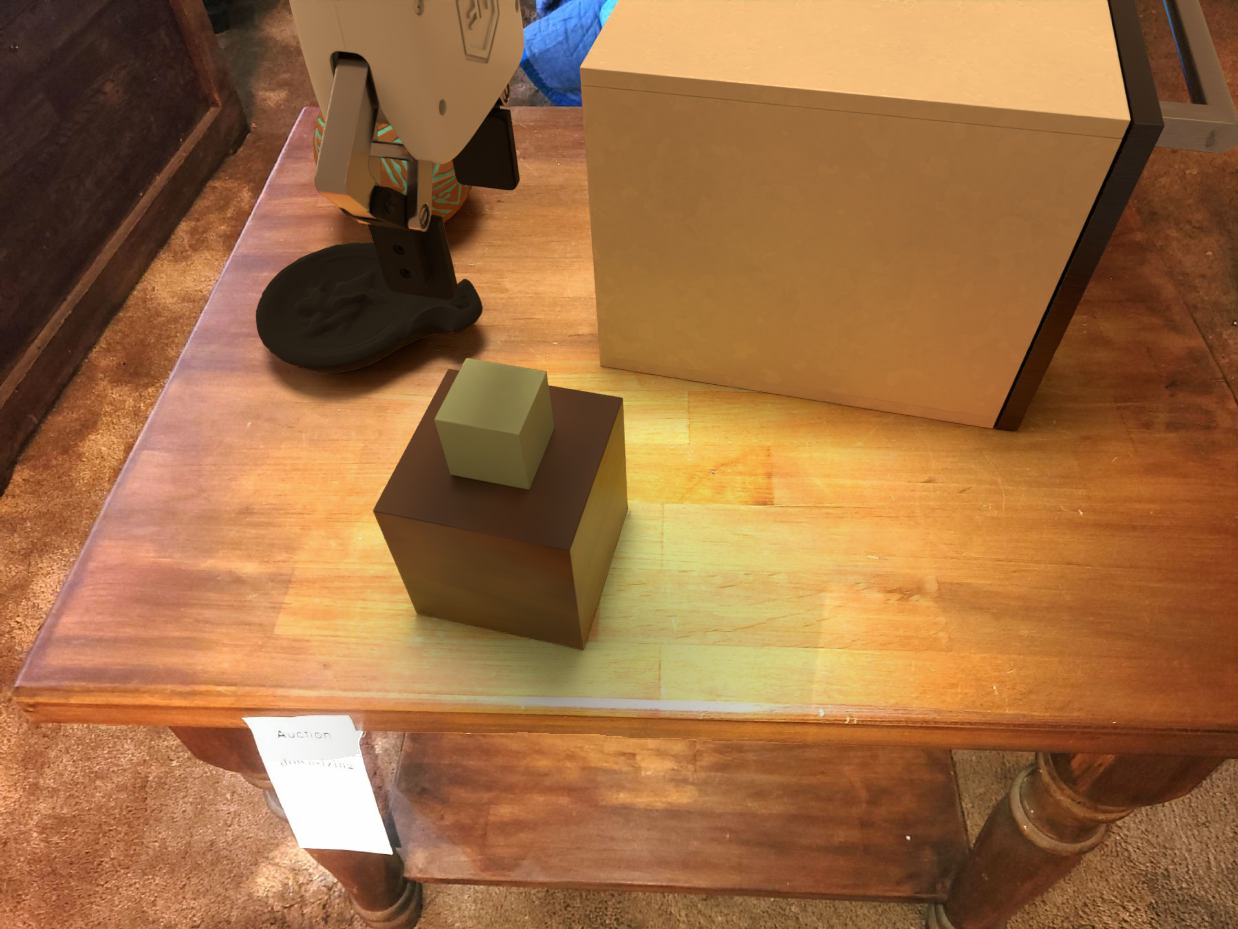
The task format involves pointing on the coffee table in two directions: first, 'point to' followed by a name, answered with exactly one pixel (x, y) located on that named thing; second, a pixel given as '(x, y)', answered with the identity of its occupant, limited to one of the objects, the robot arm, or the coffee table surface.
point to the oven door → (1132, 166)
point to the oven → (843, 190)
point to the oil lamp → (351, 311)
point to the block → (496, 423)
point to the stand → (513, 525)
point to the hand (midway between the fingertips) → (457, 233)
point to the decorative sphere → (394, 175)
